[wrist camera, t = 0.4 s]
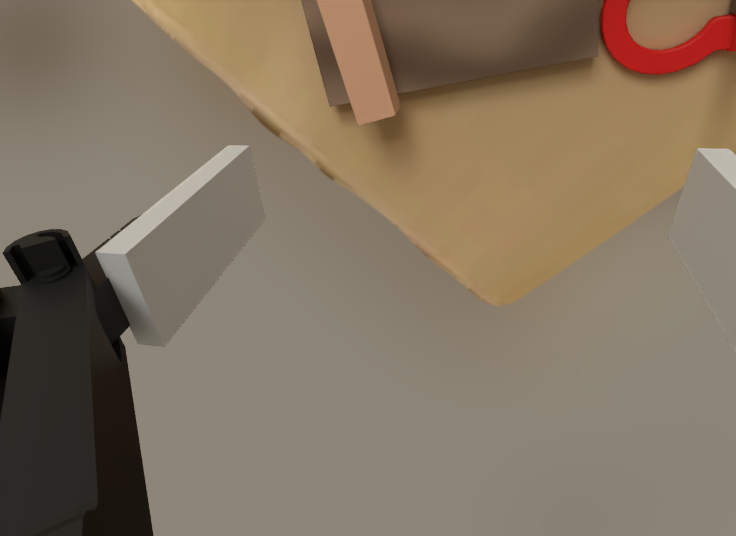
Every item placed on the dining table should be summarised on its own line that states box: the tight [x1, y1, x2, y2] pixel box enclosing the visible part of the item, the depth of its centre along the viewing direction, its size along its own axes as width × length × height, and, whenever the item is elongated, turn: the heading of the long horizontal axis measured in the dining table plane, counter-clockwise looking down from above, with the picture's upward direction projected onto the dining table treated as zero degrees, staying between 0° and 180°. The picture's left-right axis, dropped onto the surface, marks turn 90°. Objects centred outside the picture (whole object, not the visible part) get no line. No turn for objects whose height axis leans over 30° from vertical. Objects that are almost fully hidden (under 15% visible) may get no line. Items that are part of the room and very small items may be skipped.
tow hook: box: [601, 0, 736, 75], centre depth 27 cm, size 8×13×9 cm
